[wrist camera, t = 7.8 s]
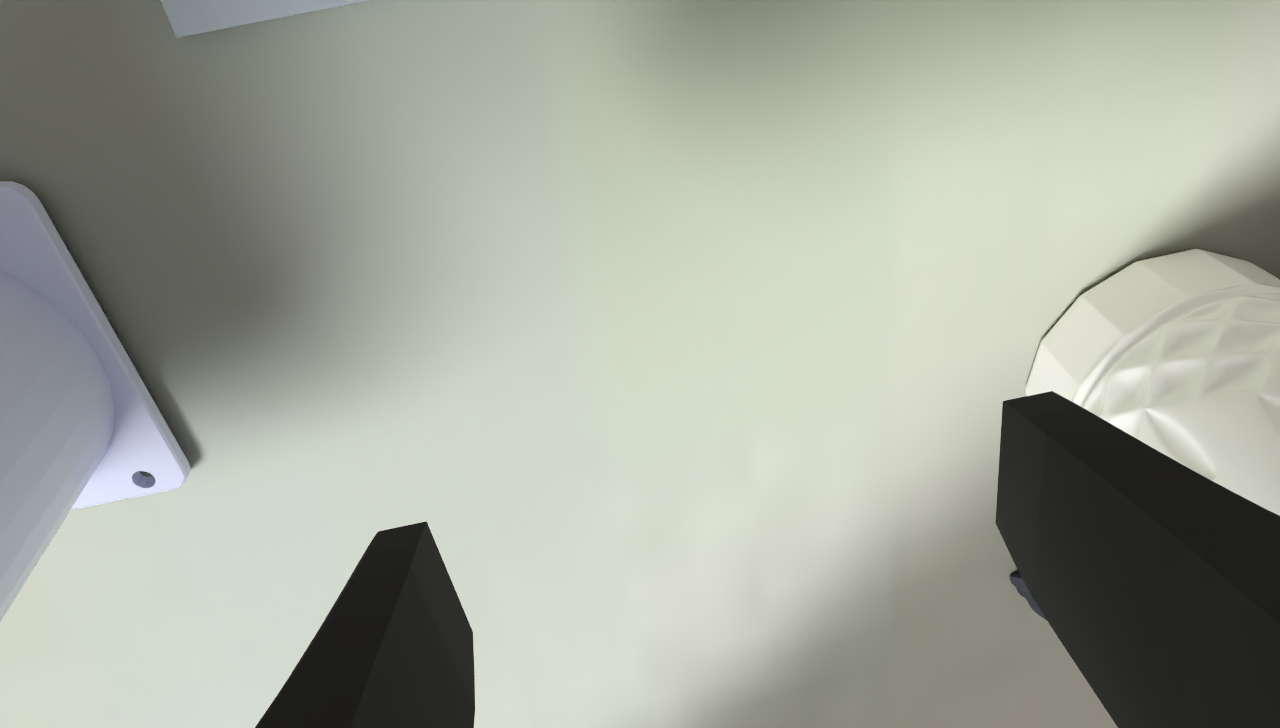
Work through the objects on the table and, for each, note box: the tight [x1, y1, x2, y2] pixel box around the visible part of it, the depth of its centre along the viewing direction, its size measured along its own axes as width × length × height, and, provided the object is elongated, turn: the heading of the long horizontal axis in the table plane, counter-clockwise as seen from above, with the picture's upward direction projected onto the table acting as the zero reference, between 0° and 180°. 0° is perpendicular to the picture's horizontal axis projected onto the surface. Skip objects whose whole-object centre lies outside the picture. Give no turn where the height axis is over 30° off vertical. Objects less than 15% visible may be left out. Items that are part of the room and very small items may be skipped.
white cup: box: [1025, 249, 1280, 516], centre depth 20 cm, size 8×8×10 cm
